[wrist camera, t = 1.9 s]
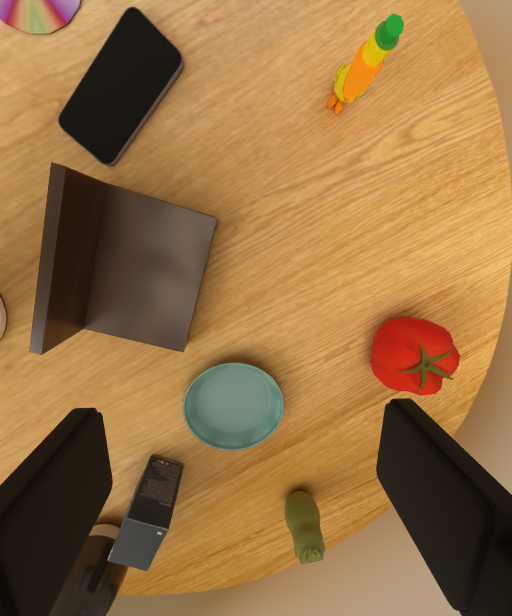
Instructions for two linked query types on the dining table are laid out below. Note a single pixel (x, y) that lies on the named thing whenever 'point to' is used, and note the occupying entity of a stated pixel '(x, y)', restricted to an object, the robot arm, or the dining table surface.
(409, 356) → the tomato
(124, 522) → the box
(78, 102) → the smartphone
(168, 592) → the dining table surface
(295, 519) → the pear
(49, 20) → the cd
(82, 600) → the dark brown egg shape
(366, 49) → the toy figure
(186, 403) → the saucer
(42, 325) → the shelf
